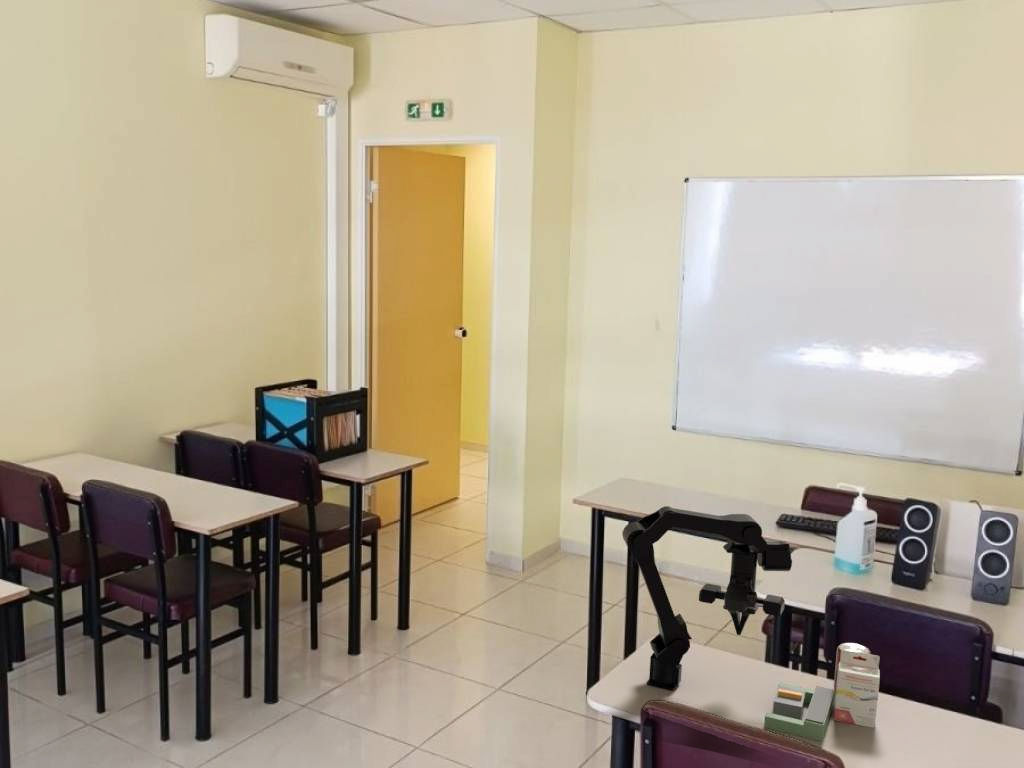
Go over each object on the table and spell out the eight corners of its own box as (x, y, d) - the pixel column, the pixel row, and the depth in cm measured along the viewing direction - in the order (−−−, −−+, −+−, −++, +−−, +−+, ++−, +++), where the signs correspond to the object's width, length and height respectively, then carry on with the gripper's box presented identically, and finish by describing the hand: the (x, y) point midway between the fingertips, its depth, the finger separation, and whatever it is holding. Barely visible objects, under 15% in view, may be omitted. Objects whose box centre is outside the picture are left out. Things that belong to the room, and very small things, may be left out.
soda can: (868, 708, 216) (873, 657, 215) (835, 703, 218) (839, 653, 216) (863, 693, 223) (868, 644, 222) (831, 689, 225) (835, 640, 223)
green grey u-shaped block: (764, 727, 206) (765, 710, 206) (778, 692, 222) (780, 677, 222) (822, 741, 201) (823, 724, 201) (833, 704, 217) (834, 688, 217)
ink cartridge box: (833, 721, 210) (839, 657, 208) (833, 710, 215) (839, 648, 212) (875, 728, 207) (881, 664, 205) (874, 718, 212) (880, 654, 210)
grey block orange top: (772, 716, 212) (774, 697, 211) (776, 700, 219) (778, 682, 218) (800, 722, 210) (802, 702, 209) (804, 706, 217) (805, 687, 216)
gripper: (694, 573, 219) (690, 638, 221) (778, 588, 211) (773, 655, 214) (706, 559, 229) (702, 622, 231) (787, 573, 221) (782, 637, 224)
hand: (739, 634), depth 225 cm, fingers closed
